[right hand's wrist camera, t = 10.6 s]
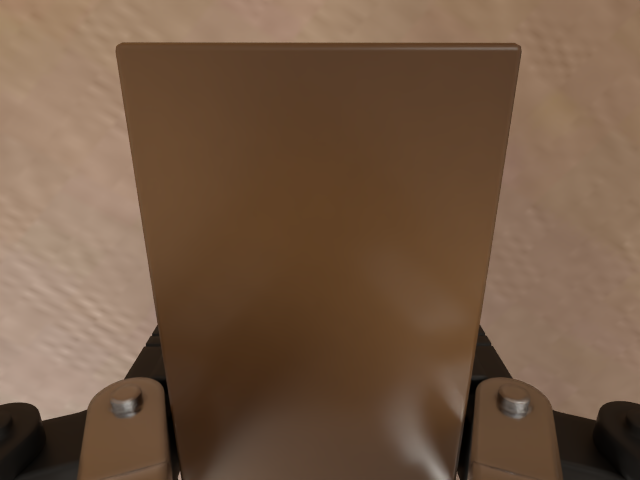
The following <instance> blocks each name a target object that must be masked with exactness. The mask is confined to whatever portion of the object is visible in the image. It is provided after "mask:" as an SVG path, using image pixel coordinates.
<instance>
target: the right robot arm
mask: <svg viewBox="0 0 640 480" xmlns="http://www.w3.org/2000/svg"><path fill="white" fill-rule="evenodd" d="M179 472H180V466H179V459H178V453H177V446H176V440H175V433H174V427H173V420H172V414H171V407H170V401H169V394H168V388H167V381H166V375H165V368H164V362H163V355H162V349H161V342H160V336H159V329H158V325H157V327H156V328H155V330H154V332H153V333H152V336H150V338H149V340H148V341H147V343H146V347H144V348H143V349H142V351H141V353H140V354H139V356H138V358H137V359H136V361H135V362H134V364H133V366H132V367H131V369H130V370H129V372H128V374H127V375H126V377H125V379H124V380H121V381H118V382H115V383H113V384H111V385H109V386H107V387H106V388H104V389H103V390H101V391H100V392H99V393H98V394H96V395H95V396H94V398H93V399H92V400H91V402H90V404H89V406H88V410H85V411H82V412H79V413H75V414H71V415H66V416H62V417H57V418H53V419H48V420H44V421H42V420H41V417H40V413H39V411H38V409H37V408H36V407H35V406H33V405H31V404H28V403H8V404H4V405H0V480H178V475H179ZM457 472H458V475H459V478H460V480H640V404H636V403H632V402H625V401H614V402H609V403H606V404H605V405H603V406H602V407H601V408H600V410H599V413H598V416H597V420H592V419H587V418H583V417H578V416H574V415H569V414H565V413H561V412H557V411H554V410H552V406H551V404H550V402H549V400H548V399H547V398H546V396H545V395H543V394H542V393H541V392H540V391H539V390H537V389H536V388H534V387H533V386H531V385H529V384H527V383H525V382H522V381H519V380H516V379H513V378H512V377H511V375H510V373H509V372H508V370H507V369H506V367H505V365H504V364H503V362H502V360H501V359H500V357H499V355H498V354H497V352H496V351H495V349H494V347H493V346H491V342H490V341H489V339H488V337H487V336H485V332H484V331H483V329H482V328H481V326H480V324H479V331H478V337H477V344H476V350H475V357H474V363H473V370H472V376H471V383H470V389H469V396H468V402H467V409H466V415H465V422H464V428H463V435H462V441H461V448H460V454H459V461H458V467H457Z"/></svg>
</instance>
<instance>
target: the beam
mask: <svg viewBox="0 0 640 480" xmlns="http://www.w3.org/2000/svg"><path fill="white" fill-rule="evenodd" d="M116 57H117V63H118V70H119V76H120V83H121V89H122V96H123V102H124V109H125V115H126V122H127V128H128V135H129V141H130V148H131V154H132V161H133V167H134V174H135V180H136V187H137V193H138V200H139V206H140V213H141V219H142V226H143V232H144V239H145V245H146V252H147V258H148V265H149V271H150V278H151V284H152V290H153V297H154V303H155V310H156V316H157V323H158V329H159V336H160V342H161V349H162V355H163V362H164V368H165V375H166V381H167V388H168V394H169V401H170V407H171V414H172V420H173V427H174V433H175V440H176V446H177V453H178V459H179V466H180V472H181V479H182V480H456V474H457V467H458V461H459V454H460V448H461V441H462V435H463V428H464V422H465V415H466V409H467V402H468V396H469V389H470V383H471V376H472V370H473V363H474V357H475V350H476V344H477V337H478V331H479V324H480V318H481V311H482V305H483V298H484V292H485V285H486V279H487V272H488V266H489V259H490V253H491V246H492V240H493V233H494V227H495V220H496V214H497V207H498V201H499V194H500V188H501V181H502V175H503V168H504V162H505V155H506V149H507V142H508V136H509V129H510V123H511V116H512V110H513V103H514V97H515V90H516V84H517V77H518V71H519V64H520V58H521V46H520V45H518V44H516V43H121V44H118V45H117V46H116Z"/></svg>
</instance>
